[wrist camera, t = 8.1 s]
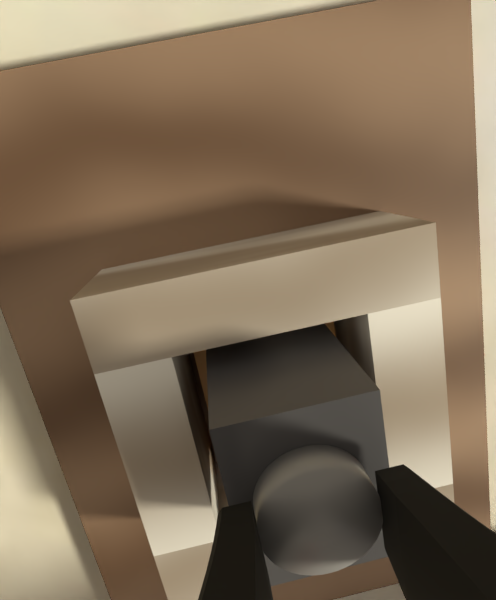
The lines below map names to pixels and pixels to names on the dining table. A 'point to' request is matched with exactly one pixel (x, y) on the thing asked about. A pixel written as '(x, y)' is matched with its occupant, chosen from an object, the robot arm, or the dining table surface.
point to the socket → (243, 258)
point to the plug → (300, 448)
